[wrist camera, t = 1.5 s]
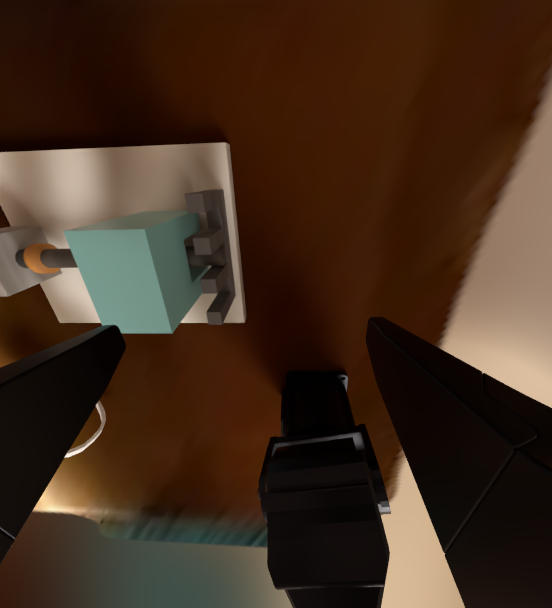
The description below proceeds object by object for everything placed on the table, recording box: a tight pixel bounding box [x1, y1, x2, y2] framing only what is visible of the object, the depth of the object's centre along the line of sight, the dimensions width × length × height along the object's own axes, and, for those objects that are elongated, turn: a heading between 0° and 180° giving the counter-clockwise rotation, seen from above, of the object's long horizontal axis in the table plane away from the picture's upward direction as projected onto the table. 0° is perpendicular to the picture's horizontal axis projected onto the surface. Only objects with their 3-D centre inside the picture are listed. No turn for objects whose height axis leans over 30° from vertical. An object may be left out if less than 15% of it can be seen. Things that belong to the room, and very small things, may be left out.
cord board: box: [0, 142, 246, 325], centre depth 19 cm, size 18×14×6 cm
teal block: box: [63, 210, 208, 333], centre depth 16 cm, size 4×6×7 cm
